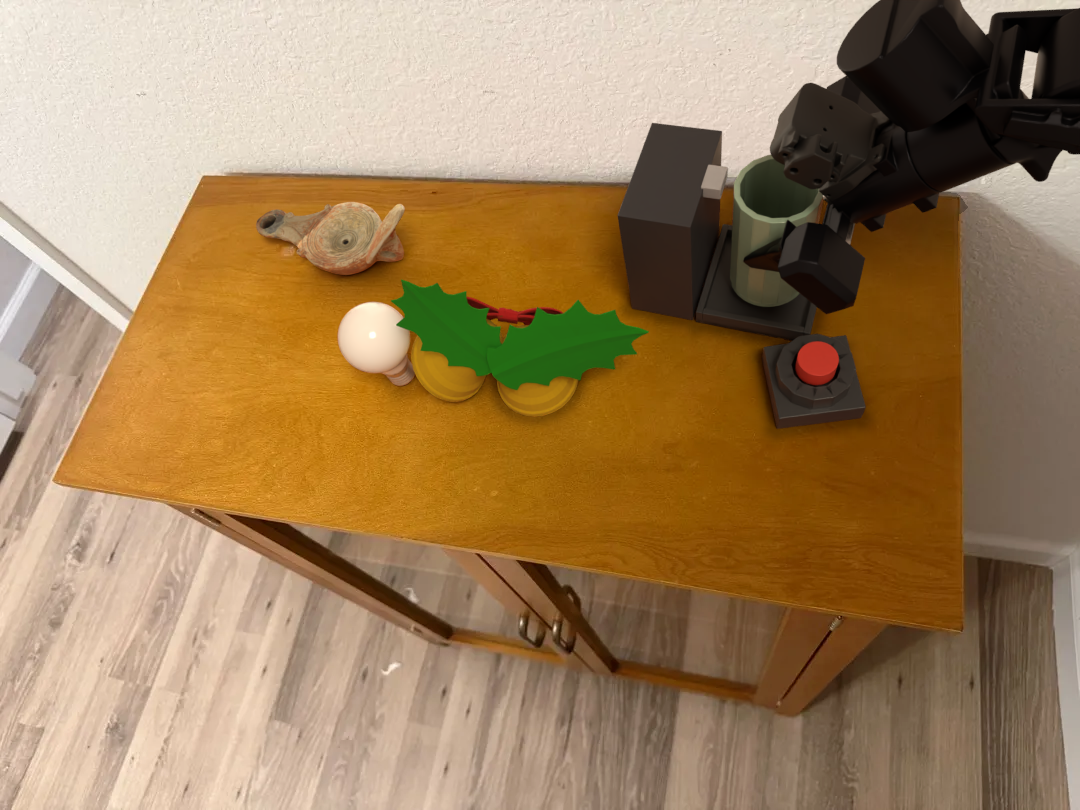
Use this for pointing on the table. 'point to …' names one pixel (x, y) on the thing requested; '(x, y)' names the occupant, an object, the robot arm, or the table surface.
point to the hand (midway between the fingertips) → (757, 228)
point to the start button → (816, 363)
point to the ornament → (508, 347)
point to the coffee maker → (690, 238)
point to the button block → (808, 401)
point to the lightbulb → (376, 341)
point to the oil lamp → (338, 236)
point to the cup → (766, 226)
